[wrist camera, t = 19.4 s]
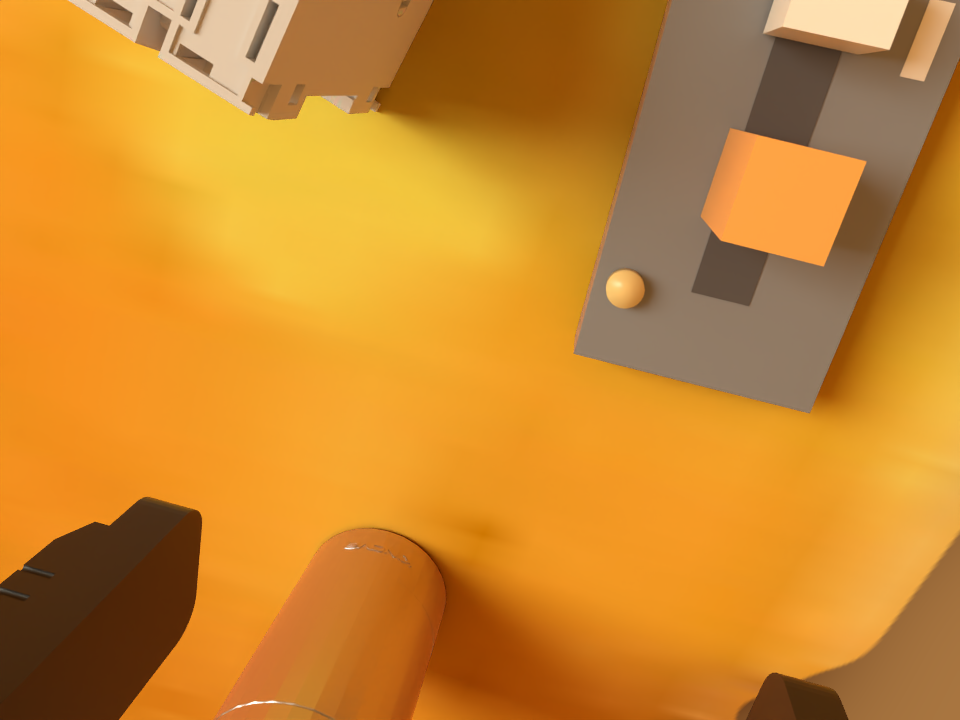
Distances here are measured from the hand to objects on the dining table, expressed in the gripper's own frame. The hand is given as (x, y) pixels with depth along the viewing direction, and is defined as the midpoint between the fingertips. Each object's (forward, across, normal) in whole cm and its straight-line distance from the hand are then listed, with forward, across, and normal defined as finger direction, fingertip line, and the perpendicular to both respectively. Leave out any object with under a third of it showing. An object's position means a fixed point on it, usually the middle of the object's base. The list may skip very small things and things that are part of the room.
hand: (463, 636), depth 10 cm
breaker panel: (+30, -8, -8) cm, 32 cm away
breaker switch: (+27, -8, -12) cm, 31 cm away
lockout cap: (+27, -8, -5) cm, 29 cm away
